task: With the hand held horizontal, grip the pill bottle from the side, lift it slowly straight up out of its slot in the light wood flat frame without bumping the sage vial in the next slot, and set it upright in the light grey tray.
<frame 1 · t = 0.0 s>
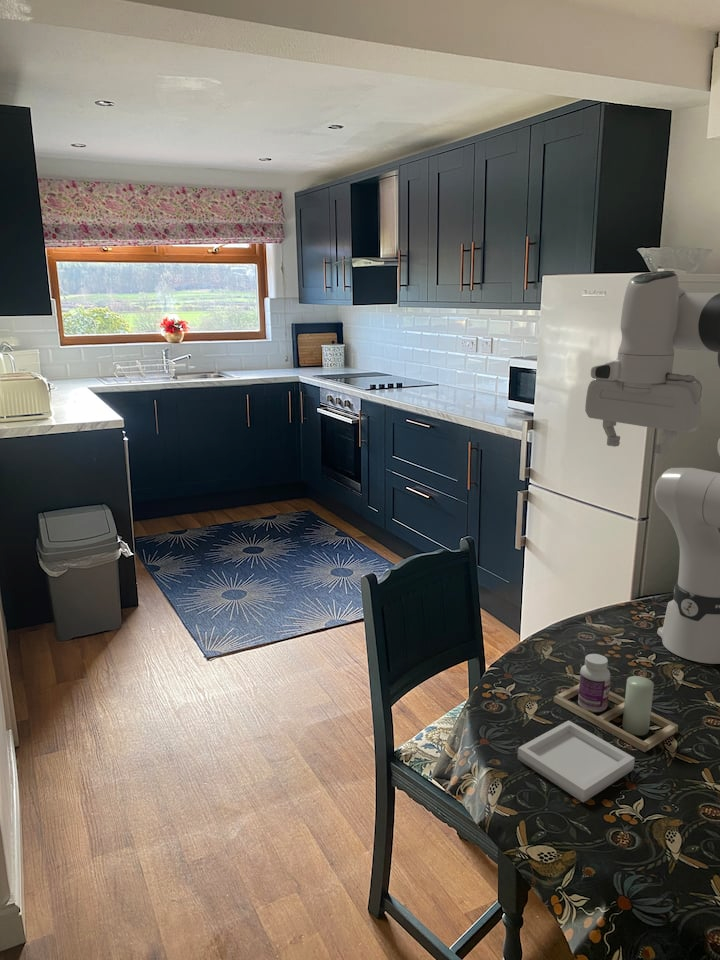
hand: (636, 450, 125), 48 cm above the table, tool pointing down, fingers open, 8 cm apart
grey tray: (574, 764, 117), on the table
sage vial: (635, 727, 126), resting in light wood flat frame
light wood flat frame: (613, 716, 130), on the table
pill bottle: (592, 706, 133), resting in light wood flat frame
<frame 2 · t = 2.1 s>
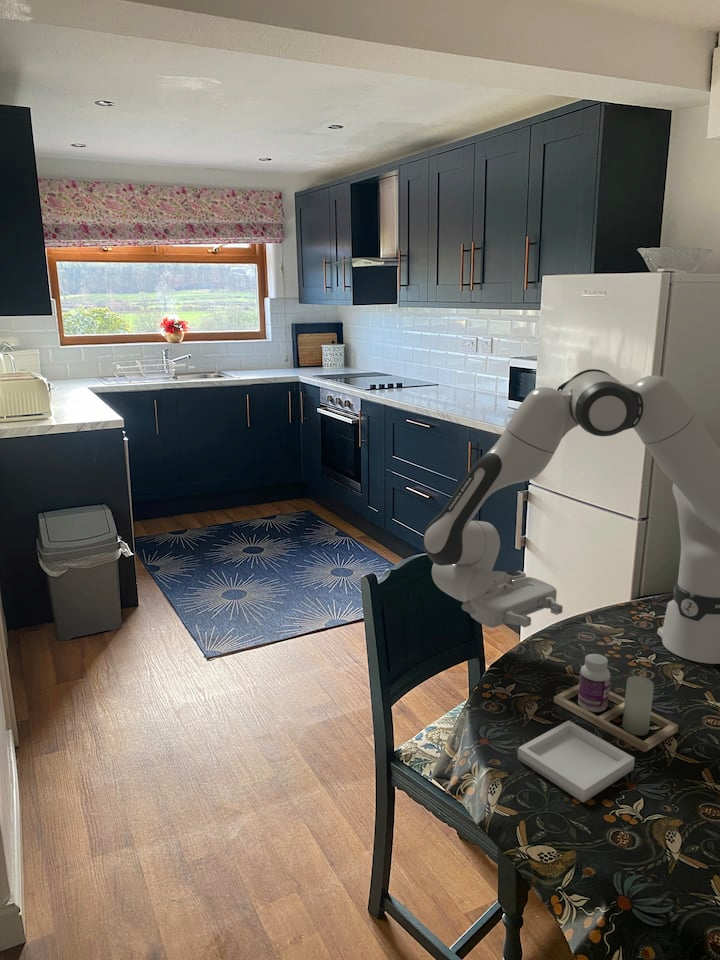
hand: (544, 616, 139), 13 cm above the table, tool horizontal, fingers open, 8 cm apart
nothing on the table moved.
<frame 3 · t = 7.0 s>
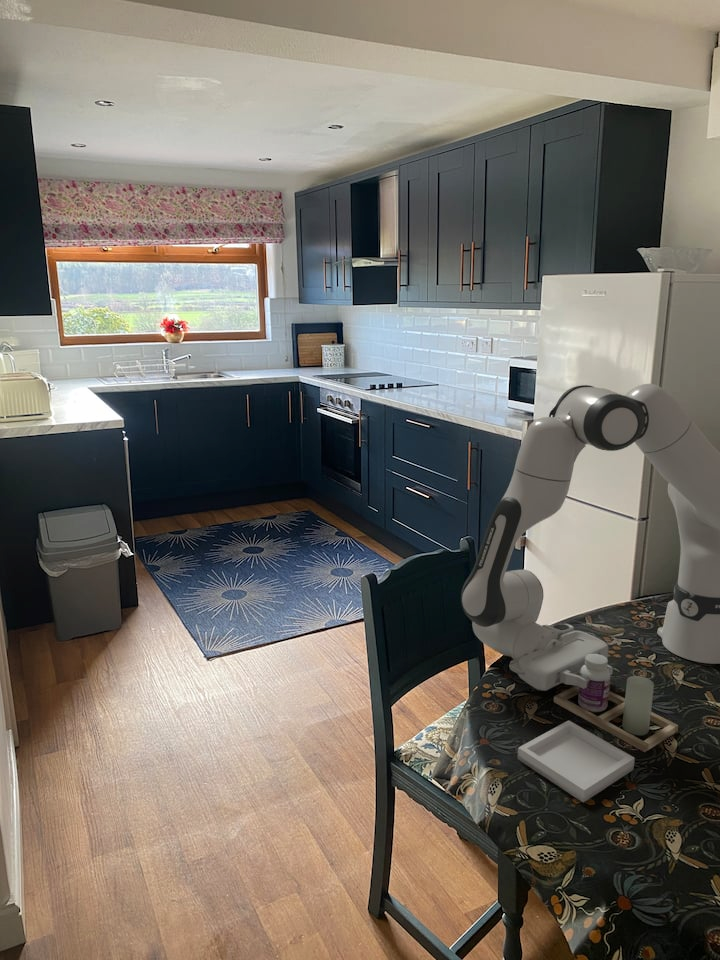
hand: (599, 678, 131), 6 cm above the table, tool horizontal, fingers closed on pill bottle, 5 cm apart
pill bottle: (592, 706, 133), resting in light wood flat frame, touching gripper
everything else where it was.
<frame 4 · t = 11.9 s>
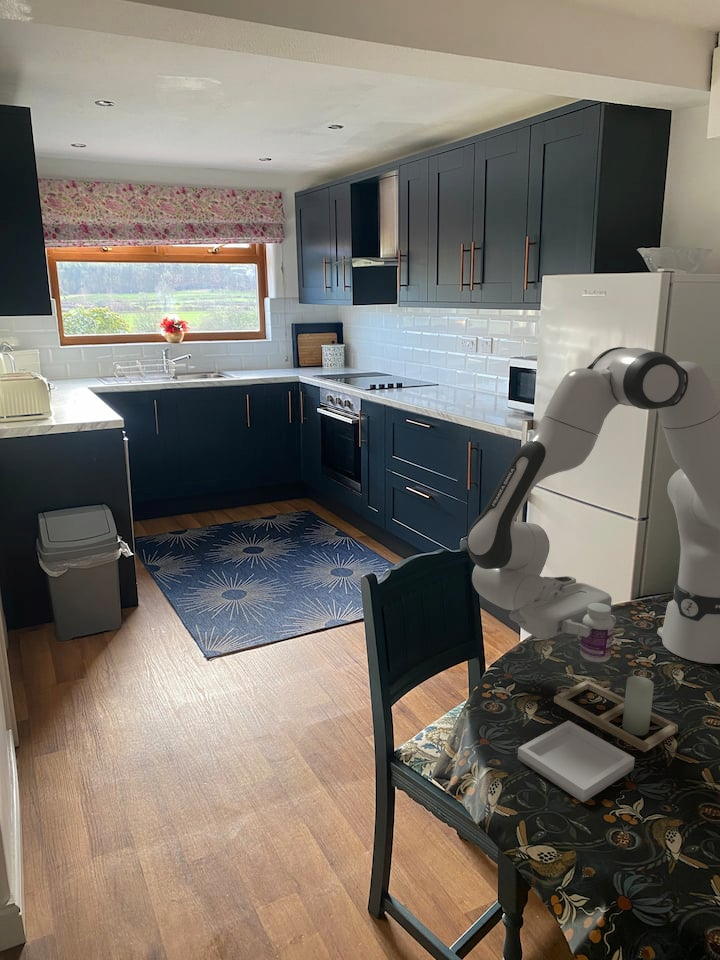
hand: (602, 627, 127), 17 cm above the table, tool horizontal, fingers closed on pill bottle, 5 cm apart
pill bottle: (595, 656, 129), point 11 cm above the table, touching gripper
everything else where it was.
when the fingers open (8 cm above the table, at t = 16.9 s): pill bottle stays where it is, resting on grey tray.
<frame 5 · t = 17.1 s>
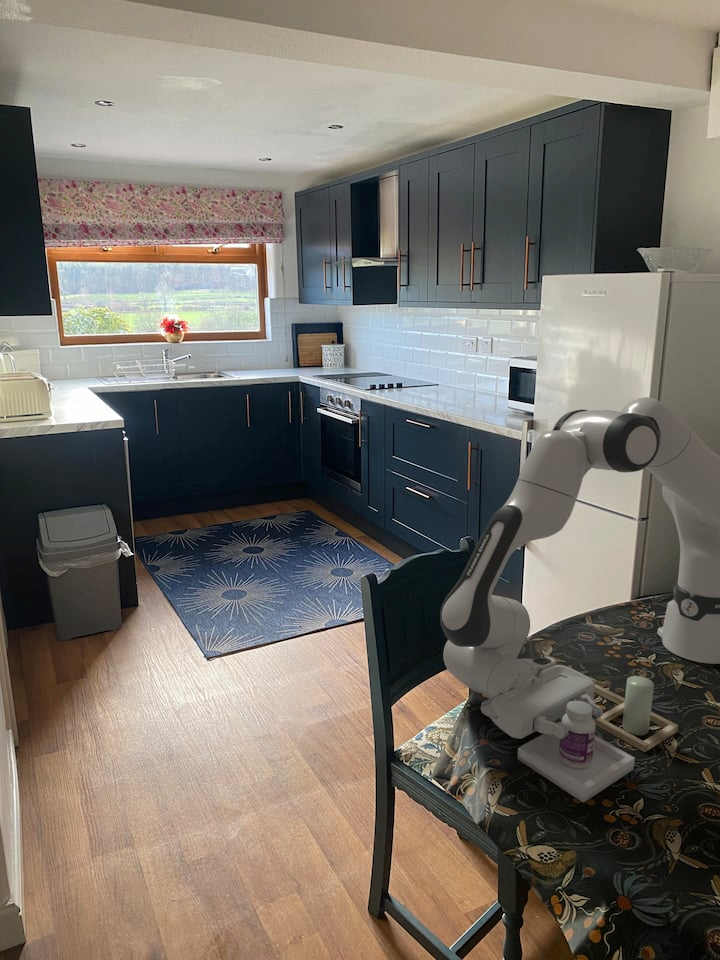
hand: (583, 723, 114), 8 cm above the table, tool horizontal, fingers open, 7 cm apart
pill bottle: (575, 760, 117), point 1 cm above the table, touching grey tray
everything else where it was.
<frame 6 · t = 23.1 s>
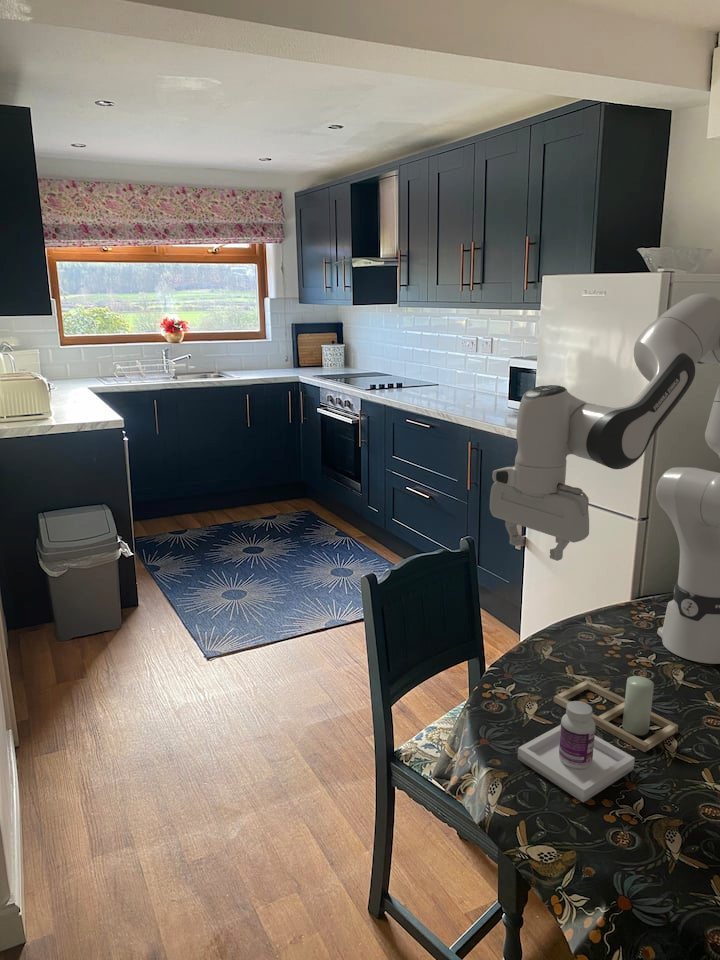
hand: (535, 551, 130), 29 cm above the table, tool pointing down, fingers open, 8 cm apart
nothing on the table moved.
at the end: pill bottle inside the target area on the grey tray (0.1 cm from its centre), point 0.6 cm above the grey tray's base; pill bottle tilted 0°; sage vial moved 0.0 cm from its start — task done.
